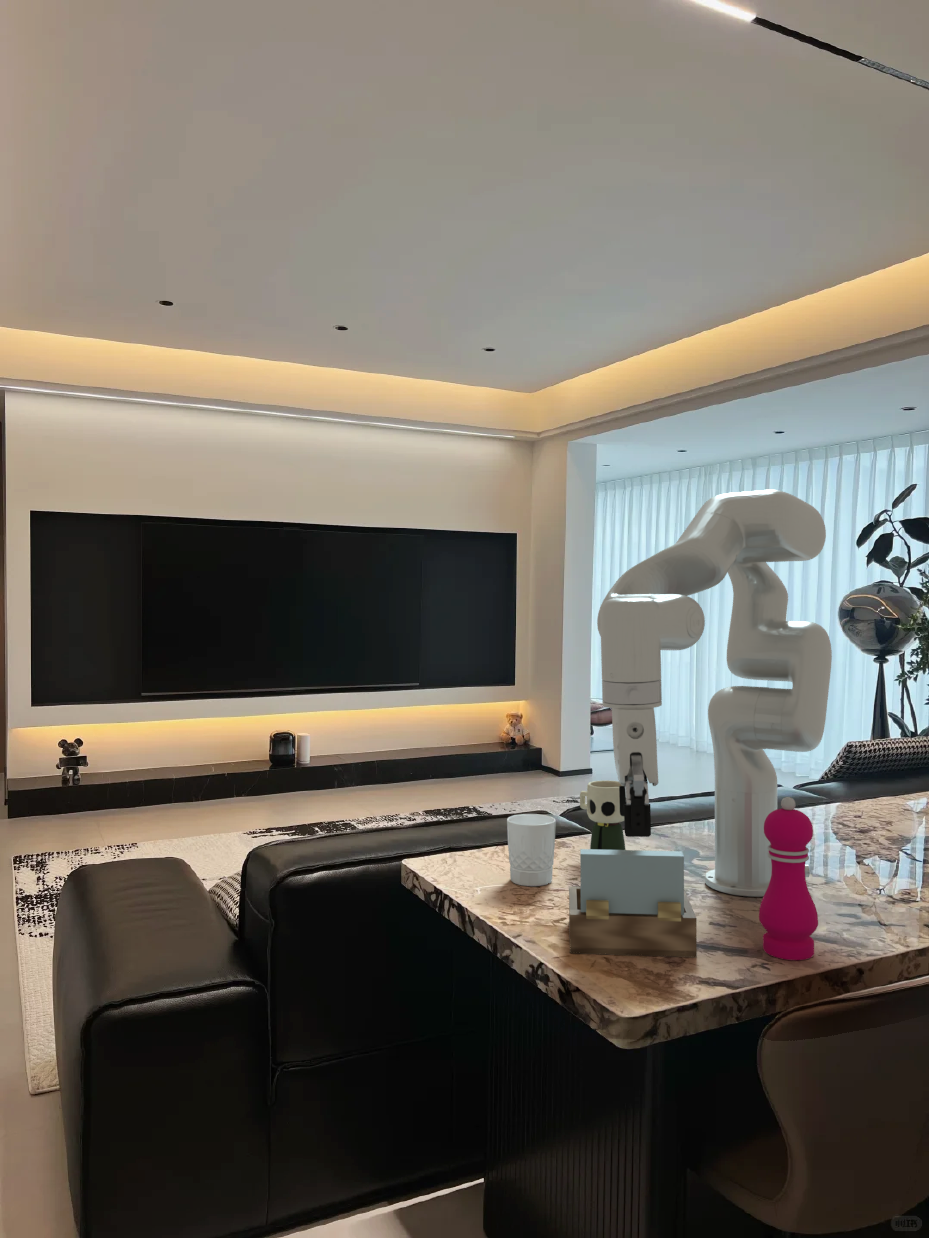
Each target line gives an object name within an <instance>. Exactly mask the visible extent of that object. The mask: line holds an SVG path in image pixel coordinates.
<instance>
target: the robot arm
mask: <svg viewBox="0 0 929 1238" xmlns="http://www.w3.org/2000/svg"><path fill="white" fill-rule="evenodd" d="M826 537H827V529H826V525H825V522H824V519H823V517H822V515H821V514H820V512H819V511H818V510H817V508H816V507H814V506H813V505H812V504H810V503H808V502H806V501H804V500H803V499H801V498H799V497H797V496H795V495H794V494H791V493H788V492H786V491H783V490H778V489H764V490H760V489H759V490H752V491H751V490H750V491H741V492H740V491H738V492H728V493H722V494H717V495H715V496H712V497H710V498H709V499H707V501H705V502H704V503H703V504H702V506H701V507H700V509H699V510H698V511H697V512H696V513H695V516H694V517H693V518H692V520H691V521H690V523H689V524H688V525H687V527H686V528H685V530H683V532H682V533H681V535H680V536H679V538H678V540H676V542H675V543H674V544H673V545H671V546H669V547H667V548H664V549H663V550H660V551H659V552H657V553H655V554H653V555H652V556H650V557H647V558H646V559H644V560H642V561H640V562H639V563H636V565H634V566H632V567H631V568H629V569H628V570H626V571H625V572H624V573H623V574H622V575H621V576H620V577H619V578H618V579H617V580H616V581H615V582H614V584H613V586H612V587H610V589H609V591H608V592H607V594H606V595H605V597H604V599H603V600H602V602H601V604H600V607H599V609H598V613H597V620H596V623H597V631H598V634H599V636H600V650H601V651H600V657H601V659H600V660H601V692H602V696H601V697H602V699H601V700H602V702H601V703H602V707H605V708H610V709H611V718H612V719H611V721H612V723H611V724H612V742H613V743H612V744H613V756H614V758H613V759H614V764H615V770H616V776H617V779H618V780H617V781H619V783H620V784H621V785H622V786H619V802H620V815H621V816H624V821H623V822H624V824H623V825H624V827H623V828H624V829H623V831H624V836H625V837H626V838H635V837H636V838H637V837H638V838H639V837H640V838H642V837H643V838H645V837H646V838H649V837H651V834H652V826H651V825H652V818H651V817H652V816H651V811H652V810H651V803H650V798H649V797H650V795H649V784H652V787H656V786H657V785H658V784H659V771H658V769H659V768H658V747H657V725H656V716H655V708H659V707H661V706H662V705H663V703H662V701H663V699H662V698H663V697H662V655H661V653H662V652H661V651H684V650H686V649H687V650H688V649H689V648H691V647H693V646H694V645H696V644H697V642H699V640H700V639H701V637H702V636H703V633H704V629H705V624H706V622H705V621H706V620H705V619H706V617H705V614H704V610H703V609H702V606H701V605H700V604H699V603H698V602H697V600H695V599H694V598H692V597H690V596H692V595H694V594H698V593H701V592H704V591H705V590H706V591H707V590H709V589H712V588H713V587H715V586H717V585H719V584H720V583H721V582H722V581H723V580H724V579H725V577H726V576H727V574H728V577H729V579H730V582H731V586H732V590H733V591H732V594H733V595H732V596H733V597H732V598H733V599H732V607H731V608H732V609H731V614H730V616H731V617H730V621H729V622H730V624H729V631H728V638H727V645H726V663H727V664H726V665H727V667H728V670H729V671H730V673H731V674H732V675H734V676H736V677H737V678H742V679H746V680H754V681H755V680H756V681H772V682H791V683H792V688H778V687H777V688H776V687H768V686H767V687H766V686H751V685H747V686H746V685H735V686H734V685H733V686H728V687H723V688H721V689H719V690H718V691H716V692H715V693H714V694H713V695H712V697H711V698H710V700H709V703H708V708H707V719H708V725H709V731H710V737H711V742H712V750H713V762H714V764H713V765H714V868H713V869H710V870H709V871H707V872H706V873H705V874H704V883H705V884H706V886H708V887H709V888H711V889H713V890H715V891H718V892H721V893H724V894H728V895H734V896H739V897H740V896H741V897H742V896H743V897H752V898H754V897H756V898H757V897H762V898H763V897H764V895H765V892H766V890H767V888H768V886H769V883H770V879H771V873H772V863H771V858H769V857H768V853H769V850H768V846H769V845H770V844H771V843H770V841H769V840H768V839H767V838H766V836H765V834H764V822H765V820H766V817H767V816H768V815H769V814H770V813H771V812H773V811H775V810H777V809H778V777H777V771H776V770H775V767H774V765H773V763H772V761H771V759H770V758H769V757H768V755H767V753H766V752H765V751H764V750H766V749H767V750H776V751H785V752H795V753H796V752H799V753H809V752H810V751H811V752H812V751H814V750H815V749H817V747H818V746H819V745H820V743H821V741H822V739H823V735H824V733H825V732H824V731H825V726H826V719H827V711H828V710H827V709H828V701H829V690H830V682H831V673H832V657H833V656H832V654H833V653H832V652H833V651H832V644H831V639H830V636H829V633H828V632H827V630H826V629H825V628H824V627H823V626H822V625H820V624H818V623H816V622H812V621H806V620H805V621H803V620H802V621H800V620H796V621H795V620H787V612H788V604H789V594H788V590H787V588H786V586H785V584H784V582H783V581H782V580H781V578H780V576H778V575H777V573H776V572H775V571H774V570H773V569H772V568H771V567H770V565H769V564H768V563H783V562H804V561H811V560H813V559H814V558H815V559H816V557H818V556H819V554H820V553H821V552H822V551H823V549H824V546H825V543H826ZM648 783H649V784H648ZM809 877H810V866H809V864H805V878H809Z"/></svg>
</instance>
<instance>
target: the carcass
mask: <svg viewBox="0 0 929 1238" xmlns="http://www.w3.org/2000/svg"><path fill="white" fill-rule="evenodd" d="M568 898H569V899H568V907H569V908H568V918H569V919H568V921H569V922H568V923H569V929H568V930H569V954H579V955H580V954H581V955H582V954H585V955H586V954H587V955H610V956H611V955H614V956H615V955H617V956H640V957H641V956H644V957H645V956H646V957H647V956H648V957H679V958H681V957H682V958H697V952H698V951H697V945H698V943H697V941H698V940H697V932H698V931H697V929H698V928H697V915H696V913H695V910H694V908H693V906H692V904H691V902H690V899H689V897H688V895H687V893H686V890H685V889H684V915H681V903H680V902H658V914H627V913H609V901H608V900H586V912H581V886H573V885H572V886H571V885H570V886H568Z"/></svg>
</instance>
